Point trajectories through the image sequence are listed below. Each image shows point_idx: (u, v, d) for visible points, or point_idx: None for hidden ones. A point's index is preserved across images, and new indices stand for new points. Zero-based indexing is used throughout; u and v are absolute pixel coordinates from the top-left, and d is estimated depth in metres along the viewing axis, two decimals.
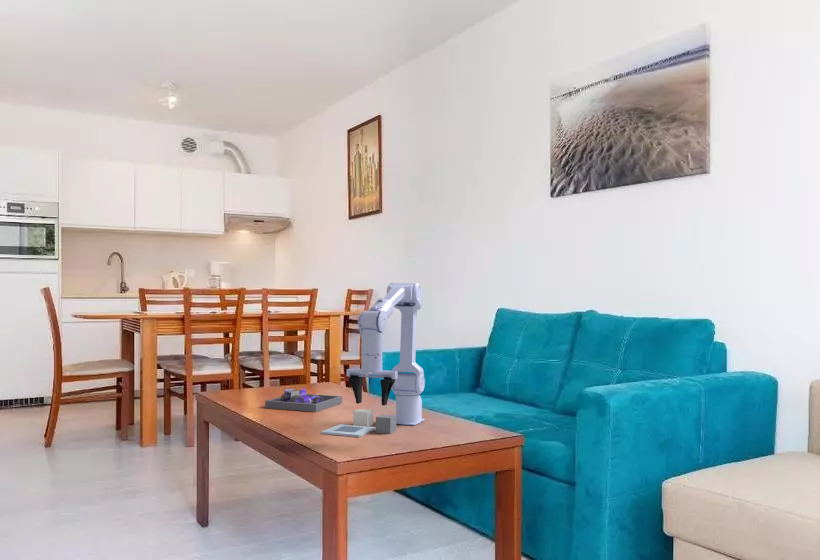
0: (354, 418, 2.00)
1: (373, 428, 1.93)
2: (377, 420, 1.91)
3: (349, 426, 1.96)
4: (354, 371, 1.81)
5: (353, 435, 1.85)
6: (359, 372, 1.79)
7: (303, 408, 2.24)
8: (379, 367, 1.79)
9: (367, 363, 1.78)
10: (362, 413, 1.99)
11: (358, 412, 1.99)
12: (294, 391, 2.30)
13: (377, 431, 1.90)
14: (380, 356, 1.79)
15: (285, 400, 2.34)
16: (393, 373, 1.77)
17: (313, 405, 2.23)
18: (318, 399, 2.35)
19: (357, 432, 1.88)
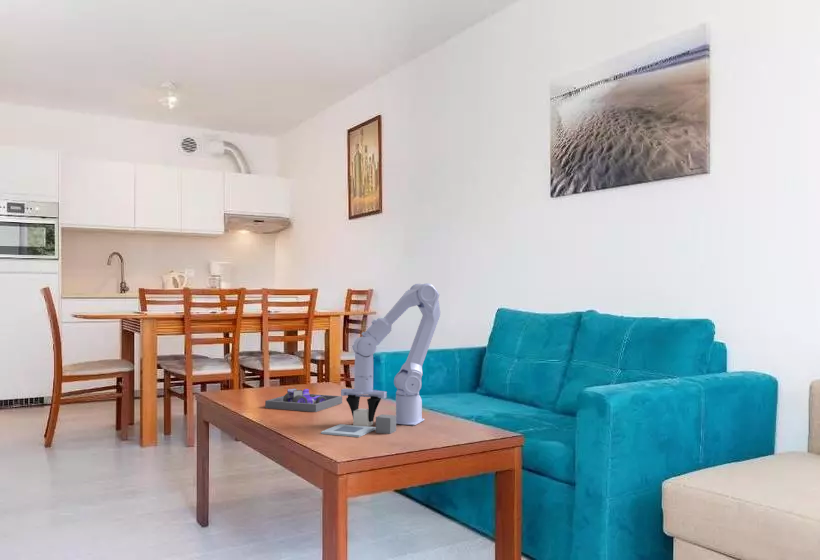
0: (354, 418, 2.00)
1: (373, 428, 1.93)
2: (377, 420, 1.90)
3: (349, 426, 1.96)
4: (348, 391, 2.01)
5: (353, 435, 1.85)
6: (352, 392, 2.00)
7: (303, 408, 2.24)
8: (370, 387, 2.00)
9: (360, 384, 1.99)
10: (362, 413, 1.99)
11: (358, 412, 1.99)
12: (297, 391, 2.31)
13: (377, 431, 1.90)
14: (371, 378, 2.00)
15: (288, 400, 2.34)
16: (382, 393, 1.98)
17: (313, 405, 2.23)
18: (321, 399, 2.35)
19: (357, 432, 1.88)
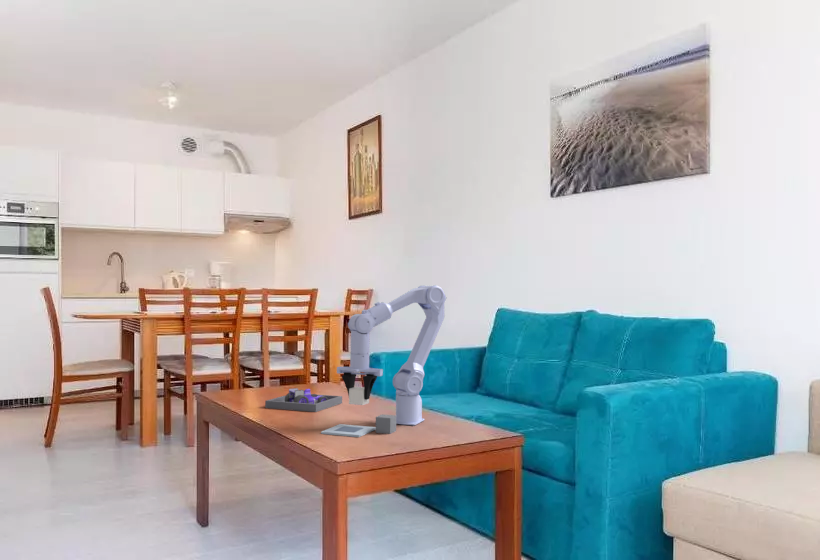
0: (350, 396, 1.97)
1: (373, 428, 1.93)
2: (377, 420, 1.91)
3: (349, 426, 1.96)
4: (343, 368, 1.99)
5: (353, 435, 1.85)
6: (348, 369, 1.98)
7: (303, 408, 2.24)
8: (366, 365, 1.97)
9: (355, 361, 1.96)
10: (358, 390, 1.96)
11: (354, 389, 1.97)
12: (298, 391, 2.31)
13: (377, 431, 1.90)
14: (367, 355, 1.97)
15: (289, 400, 2.34)
16: (378, 371, 1.95)
17: (313, 405, 2.23)
18: (322, 399, 2.35)
19: (357, 432, 1.88)
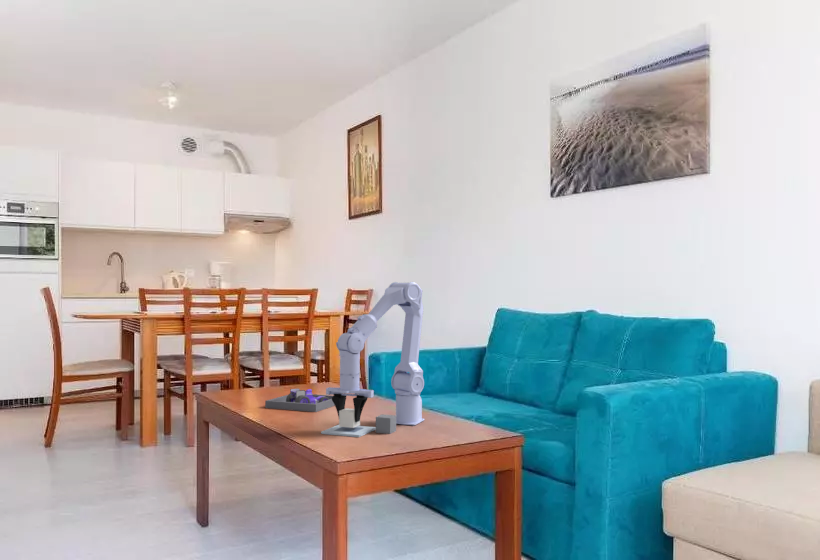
0: (340, 418, 1.91)
1: (373, 428, 1.93)
2: (377, 420, 1.91)
3: None
4: (333, 390, 1.92)
5: (353, 435, 1.85)
6: (337, 391, 1.91)
7: (303, 408, 2.24)
8: (356, 386, 1.90)
9: (345, 382, 1.89)
10: (348, 413, 1.90)
11: (344, 412, 1.90)
12: (299, 391, 2.30)
13: (377, 431, 1.90)
14: (357, 376, 1.91)
15: (291, 400, 2.34)
16: (369, 392, 1.89)
17: (313, 405, 2.23)
18: (324, 399, 2.35)
19: (357, 432, 1.88)
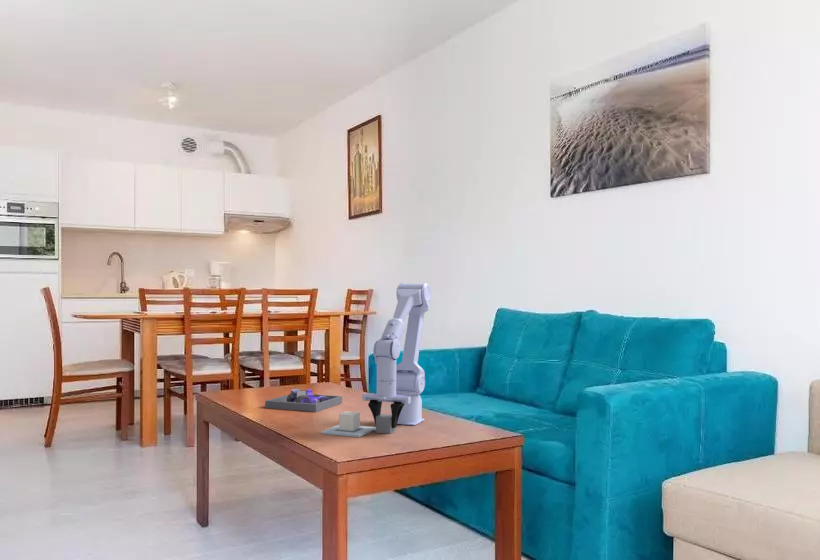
0: (340, 421, 1.90)
1: (373, 428, 1.93)
2: (377, 420, 1.91)
3: None
4: (370, 396, 1.92)
5: (353, 435, 1.85)
6: (374, 397, 1.91)
7: (303, 408, 2.24)
8: (393, 392, 1.90)
9: (382, 388, 1.90)
10: (348, 416, 1.90)
11: (344, 415, 1.90)
12: (300, 391, 2.30)
13: (377, 431, 1.90)
14: (394, 382, 1.91)
15: (291, 400, 2.34)
16: (406, 398, 1.89)
17: (313, 405, 2.23)
18: (324, 399, 2.35)
19: (357, 432, 1.88)
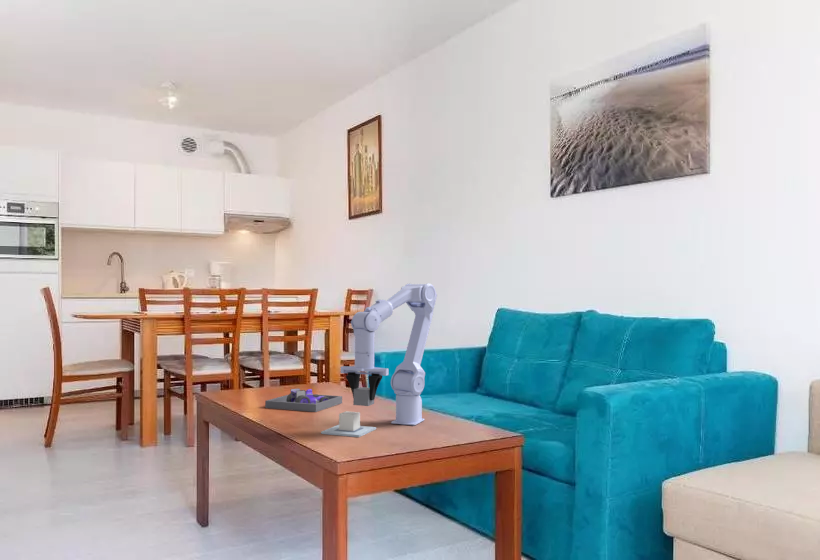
0: (340, 421, 1.90)
1: (373, 428, 1.93)
2: (355, 392, 1.90)
3: None
4: (348, 368, 1.92)
5: (353, 435, 1.85)
6: (352, 369, 1.91)
7: (303, 408, 2.24)
8: (371, 364, 1.90)
9: (360, 360, 1.89)
10: (348, 416, 1.90)
11: (344, 415, 1.90)
12: (300, 391, 2.30)
13: (355, 403, 1.90)
14: (372, 354, 1.91)
15: (291, 400, 2.34)
16: (384, 370, 1.89)
17: (313, 405, 2.23)
18: (324, 399, 2.34)
19: (357, 432, 1.88)
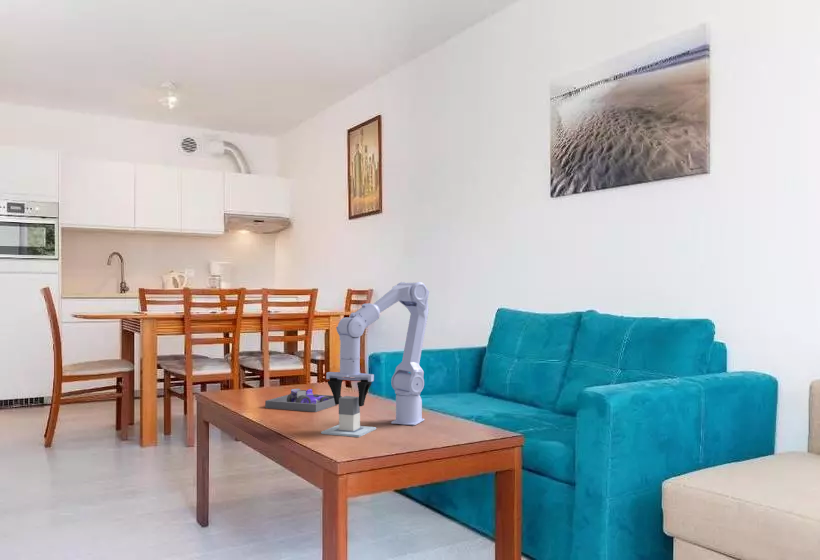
0: (340, 421, 1.90)
1: (373, 428, 1.93)
2: (340, 401, 1.90)
3: None
4: (333, 374, 1.92)
5: (353, 435, 1.85)
6: (338, 375, 1.91)
7: (303, 408, 2.24)
8: (356, 370, 1.90)
9: (345, 366, 1.89)
10: (348, 416, 1.90)
11: (344, 415, 1.90)
12: (300, 391, 2.30)
13: (340, 412, 1.90)
14: (357, 360, 1.91)
15: (291, 400, 2.34)
16: (369, 376, 1.89)
17: (313, 405, 2.23)
18: (324, 399, 2.35)
19: (357, 432, 1.88)
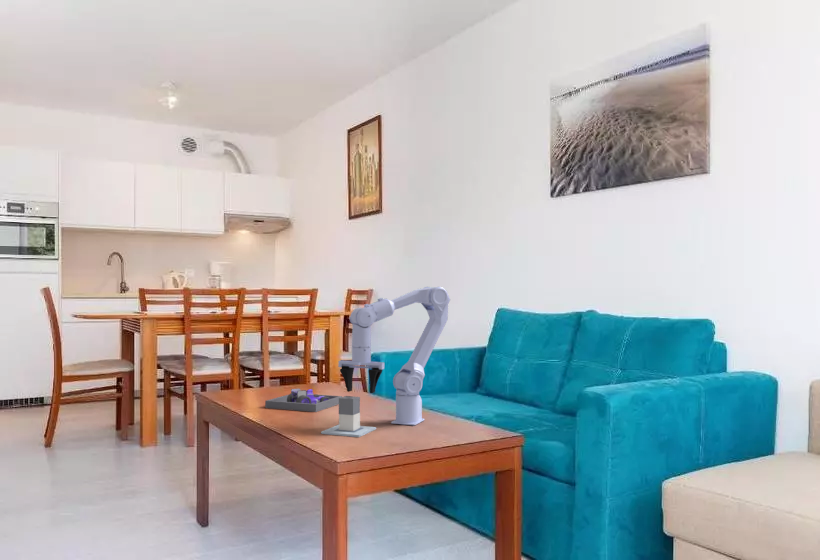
0: (340, 421, 1.90)
1: (373, 428, 1.93)
2: (340, 401, 1.90)
3: None
4: (345, 362, 2.00)
5: (353, 435, 1.85)
6: (350, 363, 1.98)
7: (303, 408, 2.24)
8: (368, 358, 1.98)
9: (357, 355, 1.97)
10: (348, 416, 1.90)
11: (344, 415, 1.90)
12: (301, 391, 2.30)
13: (340, 412, 1.90)
14: (369, 349, 1.98)
15: (292, 400, 2.34)
16: (380, 364, 1.96)
17: (313, 405, 2.23)
18: (325, 399, 2.35)
19: (357, 432, 1.88)
